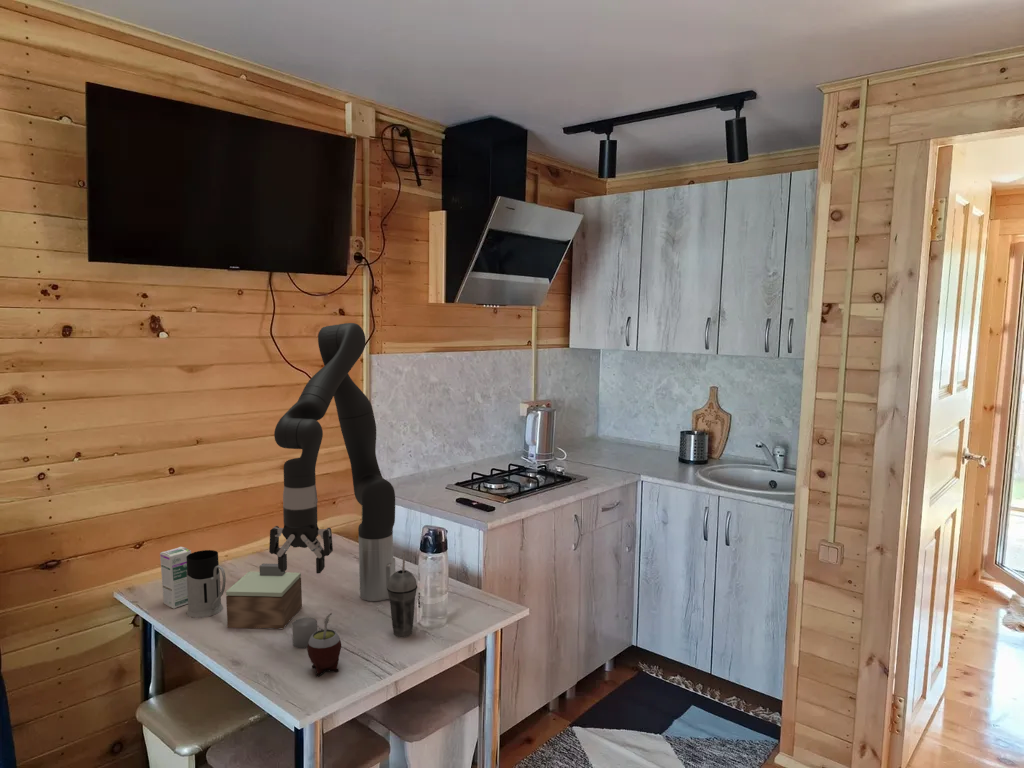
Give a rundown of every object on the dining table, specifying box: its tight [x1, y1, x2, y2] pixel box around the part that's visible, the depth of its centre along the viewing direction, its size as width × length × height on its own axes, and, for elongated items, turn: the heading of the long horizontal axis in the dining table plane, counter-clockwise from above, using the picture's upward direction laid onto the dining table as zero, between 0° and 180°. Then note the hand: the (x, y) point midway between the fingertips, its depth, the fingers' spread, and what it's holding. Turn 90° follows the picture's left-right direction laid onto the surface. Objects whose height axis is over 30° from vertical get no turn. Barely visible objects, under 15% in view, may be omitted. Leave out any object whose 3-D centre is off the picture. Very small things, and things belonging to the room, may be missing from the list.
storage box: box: [225, 576, 303, 630], centre depth 174 cm, size 14×13×8 cm
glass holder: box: [186, 549, 227, 619], centre depth 176 cm, size 9×14×15 cm, turn 54°
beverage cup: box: [387, 551, 418, 638], centre depth 164 cm, size 7×7×20 cm
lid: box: [225, 563, 302, 597], centre depth 173 cm, size 14×13×4 cm
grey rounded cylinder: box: [291, 616, 318, 650], centre depth 160 cm, size 6×6×5 cm
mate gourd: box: [306, 612, 342, 678], centre depth 147 cm, size 8×8×15 cm
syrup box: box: [159, 546, 192, 610], centre depth 182 cm, size 6×6×14 cm
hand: (301, 571), depth 159 cm, fingers open, 8 cm apart
